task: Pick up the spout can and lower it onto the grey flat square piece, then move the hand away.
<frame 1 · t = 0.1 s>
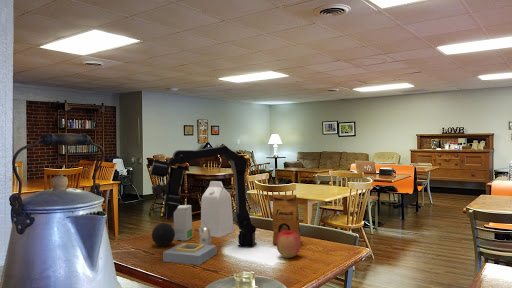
hand: (166, 217, 156), 15 cm above the table, tool pointing down, fingers open, 9 cm apart
coffee package: (287, 244, 168), on the table
apple: (288, 257, 149), on the table
speaker: (163, 246, 170), on the table
spout can: (205, 248, 165), on the table
milk: (217, 233, 191), on the table
skincare box: (183, 239, 181), on the table
grey flat square piece: (190, 257, 151), on the table
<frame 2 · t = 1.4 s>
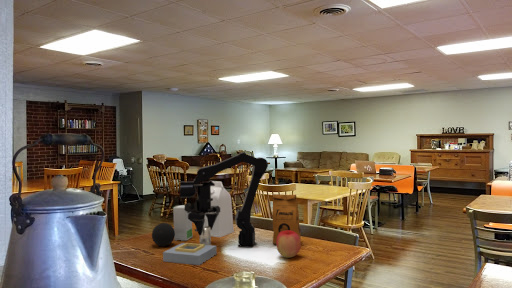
hand: (205, 232, 165), 7 cm above the table, tool pointing down, fingers open, 9 cm apart
nothing on the table moved.
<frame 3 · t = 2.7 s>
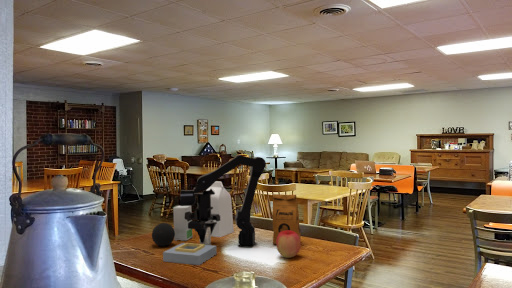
hand: (205, 241, 165), 3 cm above the table, tool pointing down, fingers closed on spout can, 5 cm apart
spout can: (205, 248, 165), on the table, touching gripper
everything else where it was.
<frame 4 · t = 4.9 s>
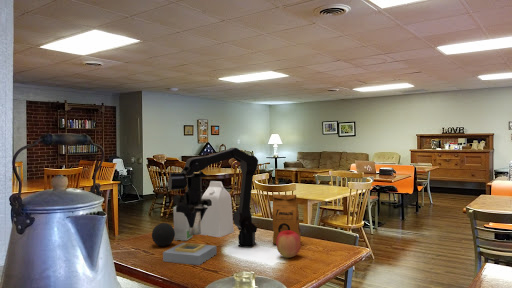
hand: (194, 226, 156), 11 cm above the table, tool pointing down, fingers closed on spout can, 5 cm apart
spout can: (194, 233, 156), point 8 cm above the table, touching gripper
everything else where it was.
when the fingers open (5 cm above the table, at t = 7.4 s): spout can drops 1 cm, resting on grey flat square piece.
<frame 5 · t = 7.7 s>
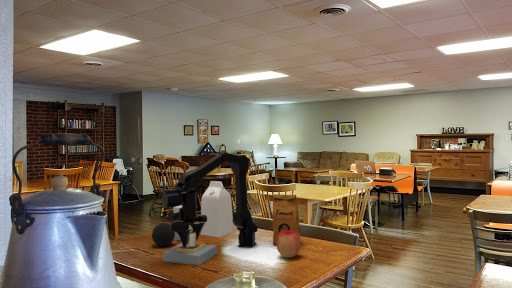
hand: (190, 243, 151), 5 cm above the table, tool pointing down, fingers open, 8 cm apart
spout can: (190, 255, 151), point 1 cm above the table, touching grey flat square piece
everything else where it was.
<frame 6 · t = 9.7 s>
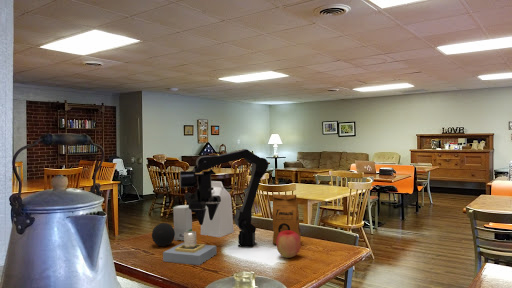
hand: (206, 222, 162), 12 cm above the table, tool pointing down, fingers open, 9 cm apart
nothing on the table moved.
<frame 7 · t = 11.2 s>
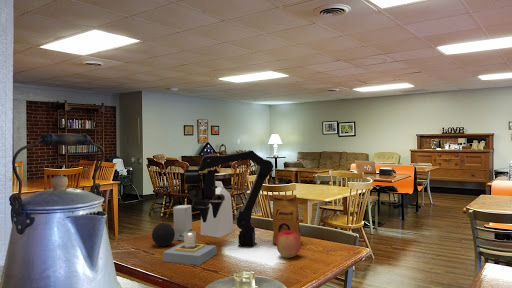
hand: (209, 220, 165), 12 cm above the table, tool pointing down, fingers open, 9 cm apart
nothing on the table moved.
at the end: spout can 0.1 cm off-centre on the grey flat square piece, point 1.0 cm above the grey flat square piece's base; spout can tilted 1°; the gripper is holding nothing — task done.
